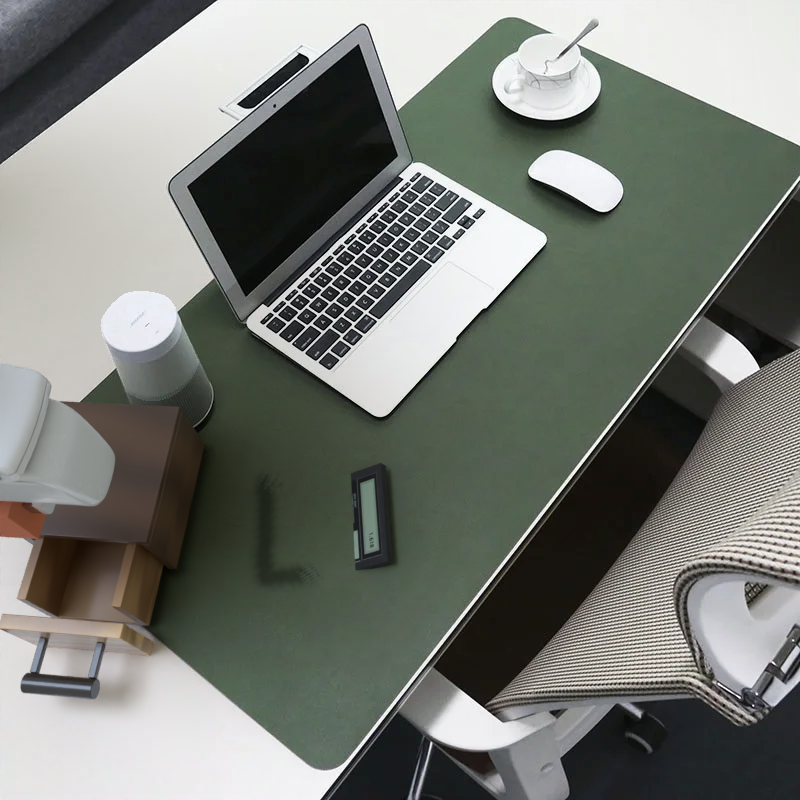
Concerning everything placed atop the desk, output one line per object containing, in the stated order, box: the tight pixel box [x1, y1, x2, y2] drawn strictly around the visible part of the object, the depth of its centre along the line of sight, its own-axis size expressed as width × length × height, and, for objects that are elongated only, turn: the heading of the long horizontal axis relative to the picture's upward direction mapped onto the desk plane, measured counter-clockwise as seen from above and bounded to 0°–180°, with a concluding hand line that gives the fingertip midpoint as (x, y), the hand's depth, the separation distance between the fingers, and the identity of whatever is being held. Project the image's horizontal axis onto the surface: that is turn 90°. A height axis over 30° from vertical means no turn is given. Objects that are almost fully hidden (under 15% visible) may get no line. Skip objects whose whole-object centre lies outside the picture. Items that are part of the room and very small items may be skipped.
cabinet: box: [22, 400, 205, 570], centre depth 76 cm, size 13×12×9 cm
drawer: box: [0, 537, 165, 700], centre depth 72 cm, size 16×10×7 cm, turn 174°
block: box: [0, 501, 46, 539], centre depth 59 cm, size 4×4×4 cm
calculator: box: [350, 462, 394, 571], centre depth 76 cm, size 9×12×3 cm
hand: (8, 501), depth 60 cm, fingers closed on block, 4 cm apart
